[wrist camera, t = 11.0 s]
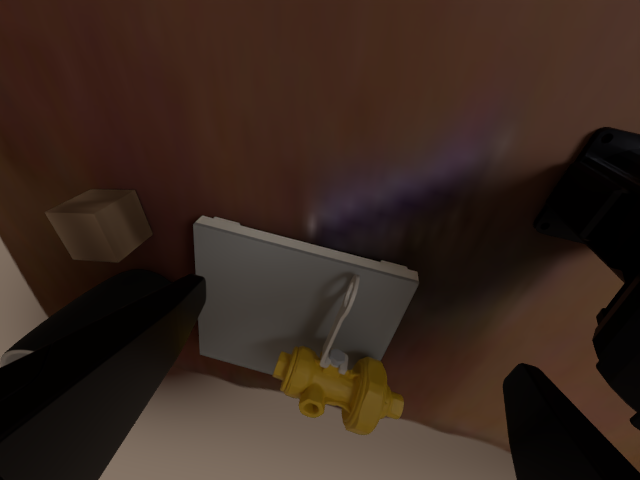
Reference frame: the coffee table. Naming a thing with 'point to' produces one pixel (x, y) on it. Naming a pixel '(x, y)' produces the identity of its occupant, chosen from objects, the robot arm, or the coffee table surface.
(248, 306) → the stand
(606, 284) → the coffee table surface
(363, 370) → the pressure relief valve
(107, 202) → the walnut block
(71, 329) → the mug
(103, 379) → the robot arm
